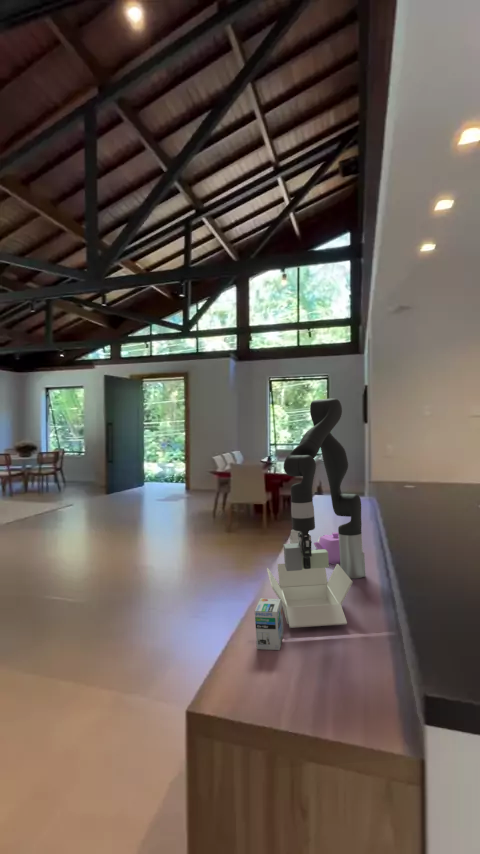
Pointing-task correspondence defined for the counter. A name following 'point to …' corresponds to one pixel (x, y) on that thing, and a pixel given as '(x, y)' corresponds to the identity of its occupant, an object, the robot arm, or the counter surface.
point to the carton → (311, 595)
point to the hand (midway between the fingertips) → (306, 566)
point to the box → (296, 559)
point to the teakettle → (330, 546)
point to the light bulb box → (269, 624)
